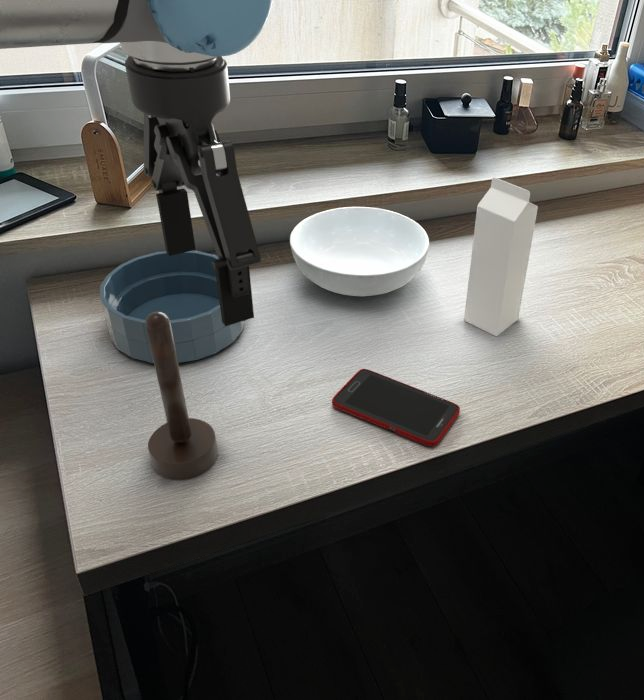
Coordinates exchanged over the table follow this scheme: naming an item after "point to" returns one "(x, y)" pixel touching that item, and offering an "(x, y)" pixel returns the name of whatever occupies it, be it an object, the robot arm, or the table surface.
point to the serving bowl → (359, 250)
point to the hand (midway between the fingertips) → (208, 283)
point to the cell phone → (397, 407)
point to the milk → (499, 257)
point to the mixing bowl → (167, 304)
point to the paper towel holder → (176, 413)
